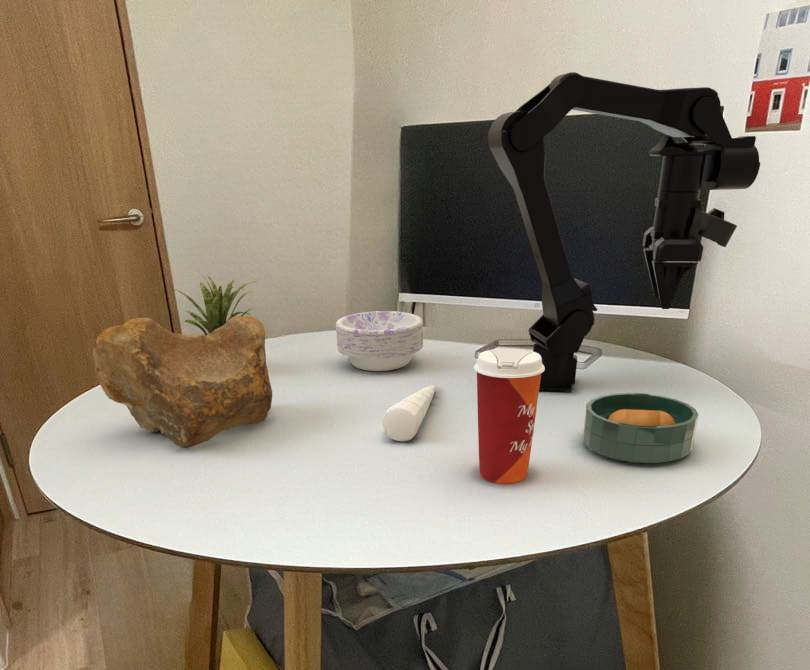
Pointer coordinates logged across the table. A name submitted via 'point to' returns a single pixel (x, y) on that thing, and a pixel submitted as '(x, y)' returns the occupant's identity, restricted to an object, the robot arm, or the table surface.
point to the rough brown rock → (186, 377)
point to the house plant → (215, 306)
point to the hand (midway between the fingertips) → (661, 303)
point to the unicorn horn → (407, 415)
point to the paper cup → (506, 412)
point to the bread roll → (642, 417)
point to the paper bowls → (379, 339)
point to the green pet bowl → (639, 429)
